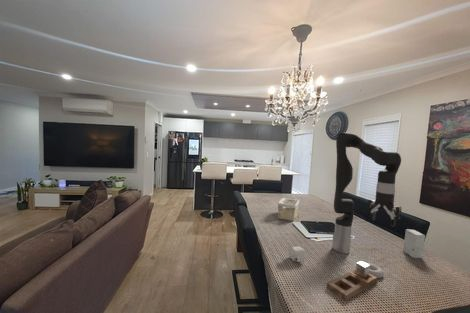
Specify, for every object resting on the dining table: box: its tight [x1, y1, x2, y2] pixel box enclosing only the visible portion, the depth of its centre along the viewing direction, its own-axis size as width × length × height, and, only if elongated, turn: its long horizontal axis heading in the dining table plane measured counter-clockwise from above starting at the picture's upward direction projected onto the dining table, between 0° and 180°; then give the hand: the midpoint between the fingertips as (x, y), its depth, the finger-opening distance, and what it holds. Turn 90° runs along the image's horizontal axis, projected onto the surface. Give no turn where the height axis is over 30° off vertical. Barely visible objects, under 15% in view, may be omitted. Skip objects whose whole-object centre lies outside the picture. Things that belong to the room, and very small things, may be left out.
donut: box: [366, 262, 385, 279], centre depth 109 cm, size 10×4×10 cm
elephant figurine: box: [287, 243, 307, 263], centre depth 118 cm, size 10×12×9 cm
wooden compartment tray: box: [326, 268, 378, 302], centre depth 98 cm, size 9×26×3 cm, turn 121°
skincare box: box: [402, 228, 426, 259], centre depth 129 cm, size 8×6×15 cm
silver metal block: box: [355, 260, 370, 280], centre depth 101 cm, size 4×4×8 cm
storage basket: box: [277, 197, 300, 222], centre depth 191 cm, size 24×16×15 cm
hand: (382, 223), depth 104 cm, fingers open, 8 cm apart
